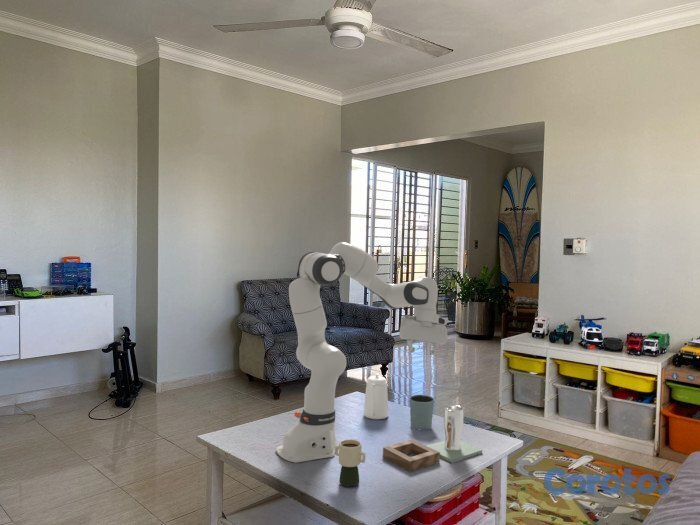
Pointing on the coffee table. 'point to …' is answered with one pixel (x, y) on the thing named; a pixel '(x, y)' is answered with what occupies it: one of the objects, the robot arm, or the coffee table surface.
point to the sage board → (455, 455)
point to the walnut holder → (422, 458)
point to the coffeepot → (376, 398)
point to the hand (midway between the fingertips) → (422, 353)
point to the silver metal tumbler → (453, 427)
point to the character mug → (349, 461)
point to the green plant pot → (421, 411)
